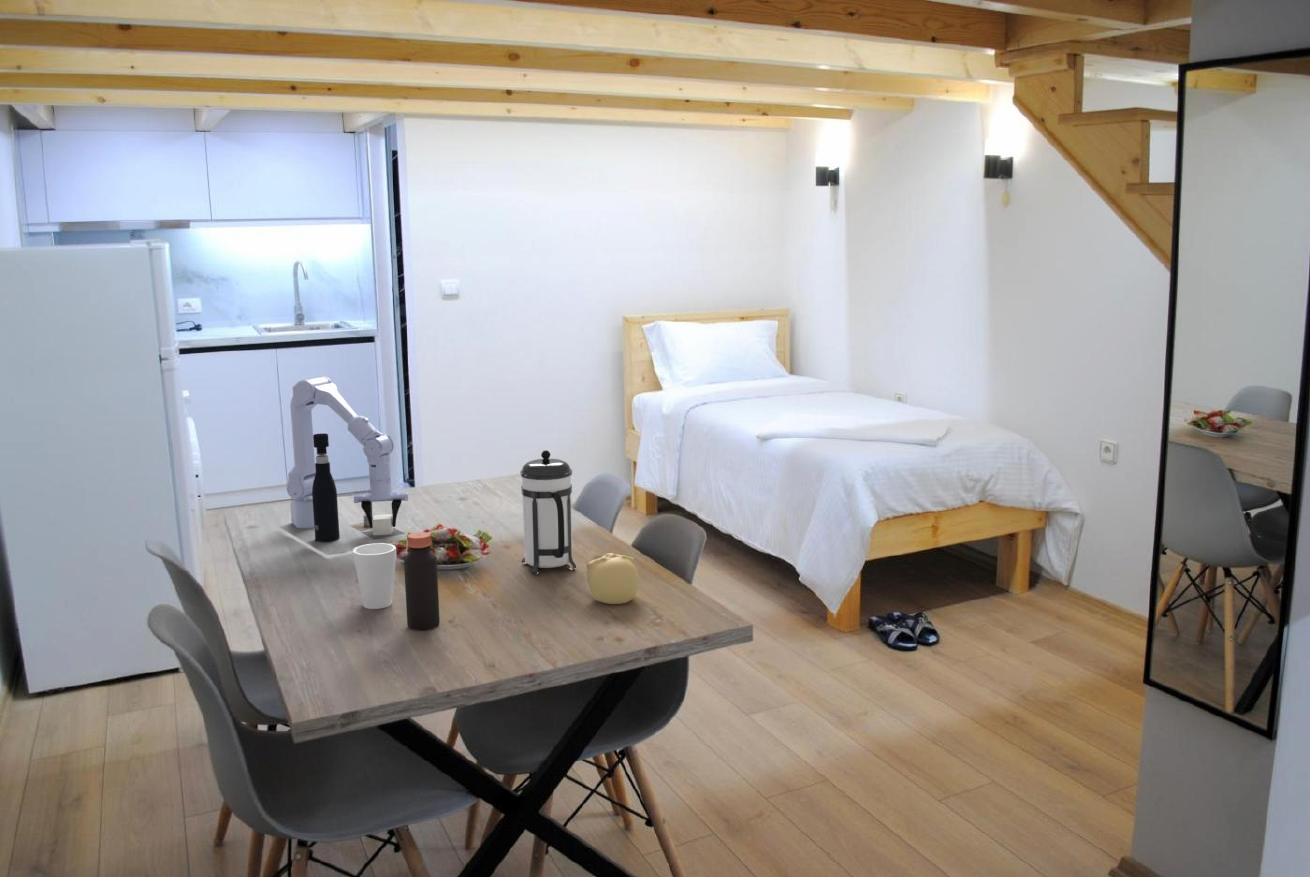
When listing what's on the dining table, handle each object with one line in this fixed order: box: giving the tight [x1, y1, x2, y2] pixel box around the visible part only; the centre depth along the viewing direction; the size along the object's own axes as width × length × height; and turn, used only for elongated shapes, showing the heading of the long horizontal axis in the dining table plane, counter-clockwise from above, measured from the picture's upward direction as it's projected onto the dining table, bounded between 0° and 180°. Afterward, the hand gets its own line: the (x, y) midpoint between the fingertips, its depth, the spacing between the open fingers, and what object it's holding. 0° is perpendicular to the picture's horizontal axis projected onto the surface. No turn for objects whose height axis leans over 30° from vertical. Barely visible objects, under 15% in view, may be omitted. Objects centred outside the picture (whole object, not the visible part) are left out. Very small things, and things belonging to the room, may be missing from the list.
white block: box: [372, 513, 395, 535], centre depth 295 cm, size 5×5×4 cm
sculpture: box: [586, 552, 640, 605], centre depth 241 cm, size 12×12×11 cm
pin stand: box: [349, 514, 373, 532], centre depth 303 cm, size 8×8×4 cm
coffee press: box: [519, 450, 577, 575], centre depth 262 cm, size 17×16×30 cm
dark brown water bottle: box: [403, 531, 441, 631], centre depth 225 cm, size 7×7×20 cm
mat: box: [360, 527, 406, 540], centre depth 295 cm, size 9×9×1 cm
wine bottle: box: [312, 433, 341, 543], centre depth 287 cm, size 6×6×30 cm
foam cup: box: [352, 542, 398, 610], centre depth 239 cm, size 10×9×13 cm
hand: (383, 526), depth 295 cm, fingers open, 5 cm apart
